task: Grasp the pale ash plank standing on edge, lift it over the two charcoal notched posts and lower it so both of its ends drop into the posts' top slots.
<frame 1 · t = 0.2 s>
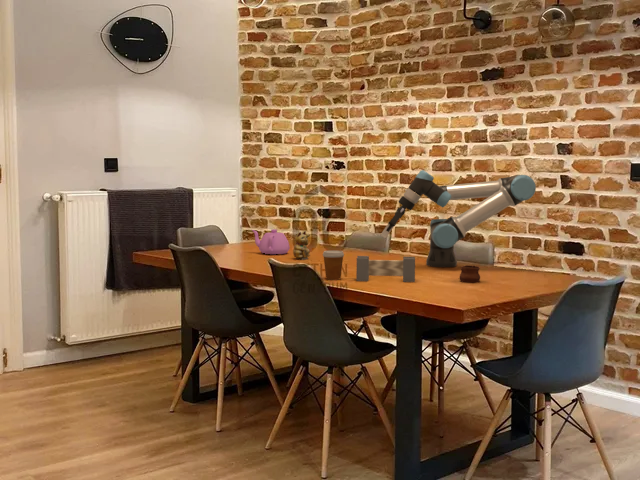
hand: (383, 235, 365), 16 cm above the table, tool tilted 35°, fingers open, 13 cm apart
teapot: (270, 254, 425), on the table
decorative figurine: (300, 259, 401), on the table
ash rail plank: (386, 275, 343), on the table
headboard posts: (385, 280, 328), on the table
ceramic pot: (469, 282, 326), on the table
disposable coffee cup: (333, 279, 333), on the table
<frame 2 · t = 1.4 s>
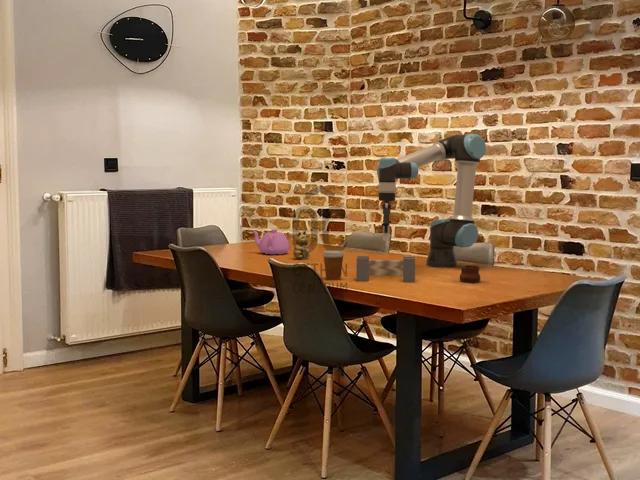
hand: (386, 239, 342), 16 cm above the table, tool pointing down, fingers open, 13 cm apart
nothing on the table moved.
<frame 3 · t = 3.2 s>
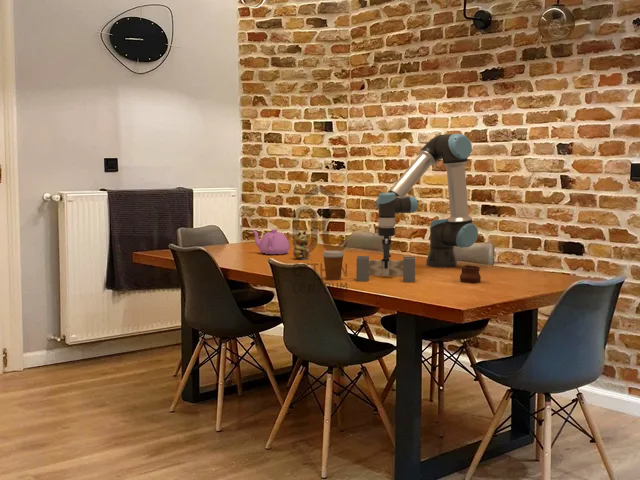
hand: (386, 273, 343), 1 cm above the table, tool pointing down, fingers open, 13 cm apart
nothing on the table moved.
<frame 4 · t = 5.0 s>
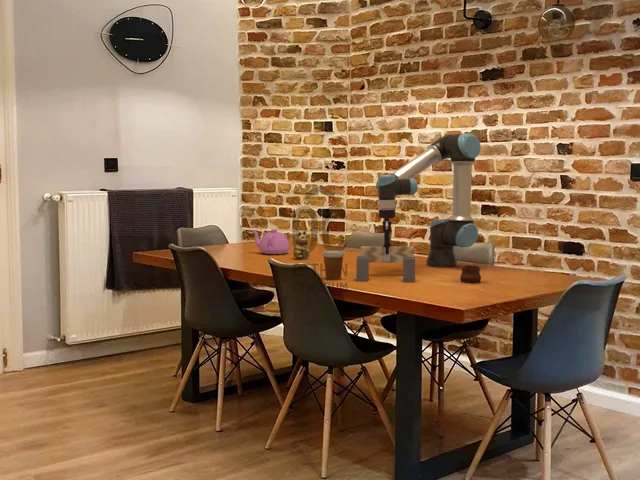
hand: (387, 260, 343), 7 cm above the table, tool pointing down, fingers closed on ash rail plank, 2 cm apart
ash rail plank: (387, 262, 343), point 6 cm above the table, touching gripper
everything else where it was.
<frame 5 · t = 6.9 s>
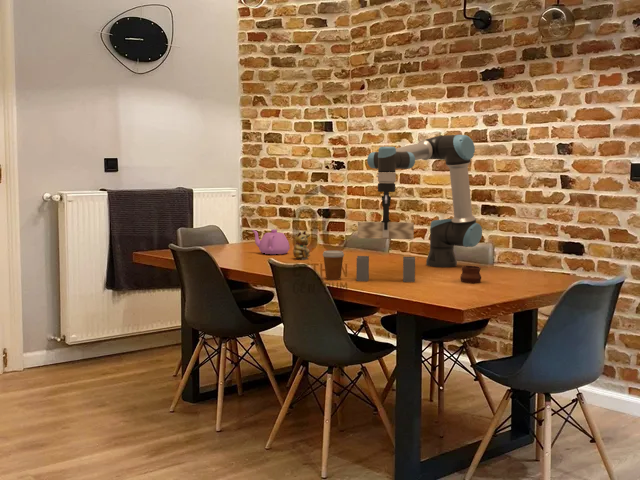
hand: (385, 237, 327), 19 cm above the table, tool pointing down, fingers closed on ash rail plank, 2 cm apart
ash rail plank: (385, 238, 327), point 18 cm above the table, touching gripper
everything else where it was.
when the fingers open (6 cm above the table, at t = 9.1 s): ash rail plank stays where it is, resting on headboard posts.
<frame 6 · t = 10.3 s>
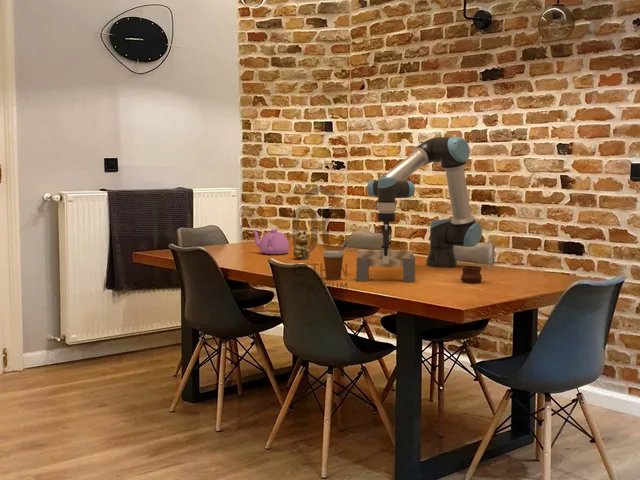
hand: (385, 261, 328), 8 cm above the table, tool pointing down, fingers open, 13 cm apart
ash rail plank: (385, 266, 328), point 6 cm above the table, touching headboard posts
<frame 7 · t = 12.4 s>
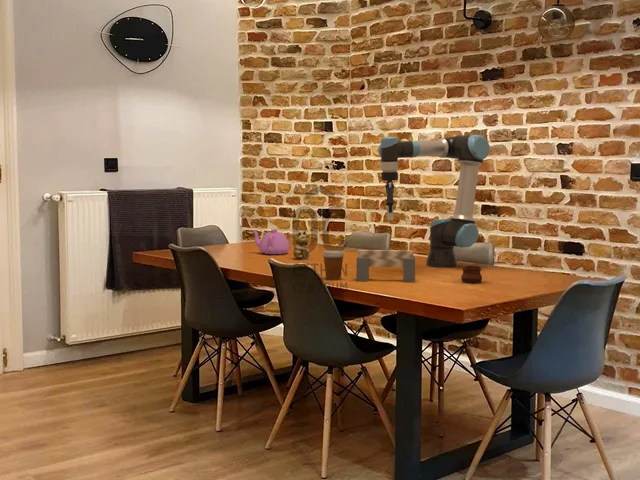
hand: (390, 218, 341), 26 cm above the table, tool pointing down, fingers open, 13 cm apart
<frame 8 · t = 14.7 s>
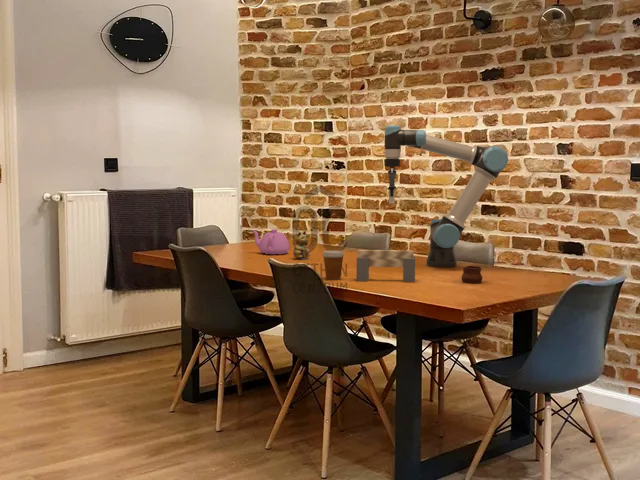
hand: (391, 203, 362), 32 cm above the table, tool pointing down, fingers open, 13 cm apart
at the end: ash rail plank 0.2 cm off-centre on the headboard posts, point 6.0 cm above the headboard posts's base; ash rail plank tilted 0°; the gripper is holding nothing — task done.
